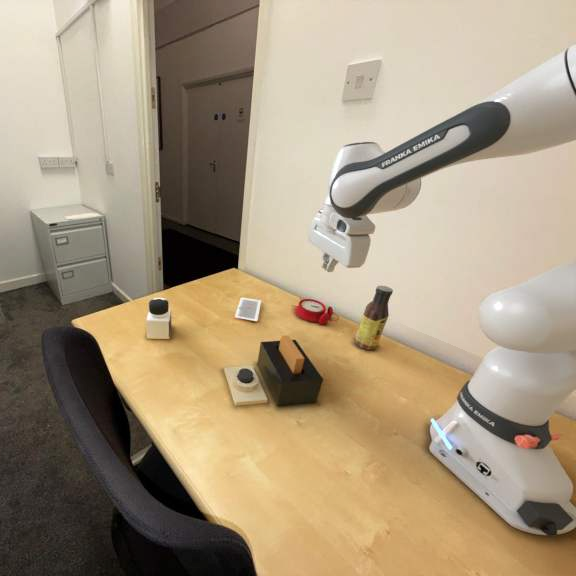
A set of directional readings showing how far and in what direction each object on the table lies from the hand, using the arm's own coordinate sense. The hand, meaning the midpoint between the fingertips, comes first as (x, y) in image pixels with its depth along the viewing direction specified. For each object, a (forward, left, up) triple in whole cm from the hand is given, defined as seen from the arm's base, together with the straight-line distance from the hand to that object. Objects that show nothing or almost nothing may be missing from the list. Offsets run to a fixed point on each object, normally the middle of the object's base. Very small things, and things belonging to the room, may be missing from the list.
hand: (327, 269), depth 78 cm
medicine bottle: (+14, +44, -27) cm, 54 cm away
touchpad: (+24, +11, -27) cm, 38 cm away
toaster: (-11, +12, -27) cm, 32 cm away
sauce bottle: (+1, -20, -27) cm, 34 cm away
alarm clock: (+18, -12, -27) cm, 35 cm away
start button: (-11, +23, -24) cm, 35 cm away
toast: (-11, +12, -25) cm, 30 cm away
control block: (-11, +23, -27) cm, 37 cm away
